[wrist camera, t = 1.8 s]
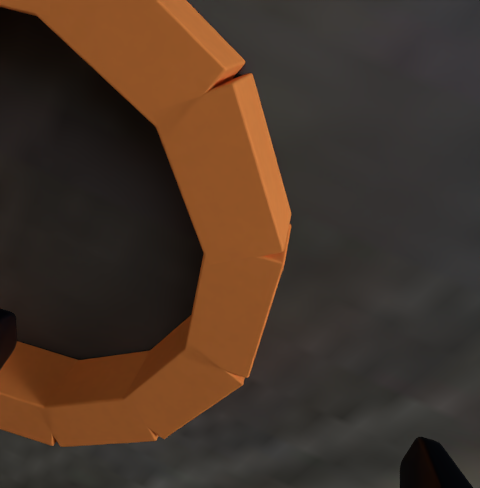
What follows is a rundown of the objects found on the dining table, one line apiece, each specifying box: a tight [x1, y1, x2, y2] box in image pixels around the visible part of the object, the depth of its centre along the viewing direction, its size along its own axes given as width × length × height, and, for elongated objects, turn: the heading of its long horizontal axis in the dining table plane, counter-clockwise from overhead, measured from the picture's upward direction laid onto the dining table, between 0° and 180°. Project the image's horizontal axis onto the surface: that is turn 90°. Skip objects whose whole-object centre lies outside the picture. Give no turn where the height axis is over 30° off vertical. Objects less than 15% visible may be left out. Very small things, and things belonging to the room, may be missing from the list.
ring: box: [0, 0, 291, 447], centre depth 13 cm, size 16×16×2 cm
